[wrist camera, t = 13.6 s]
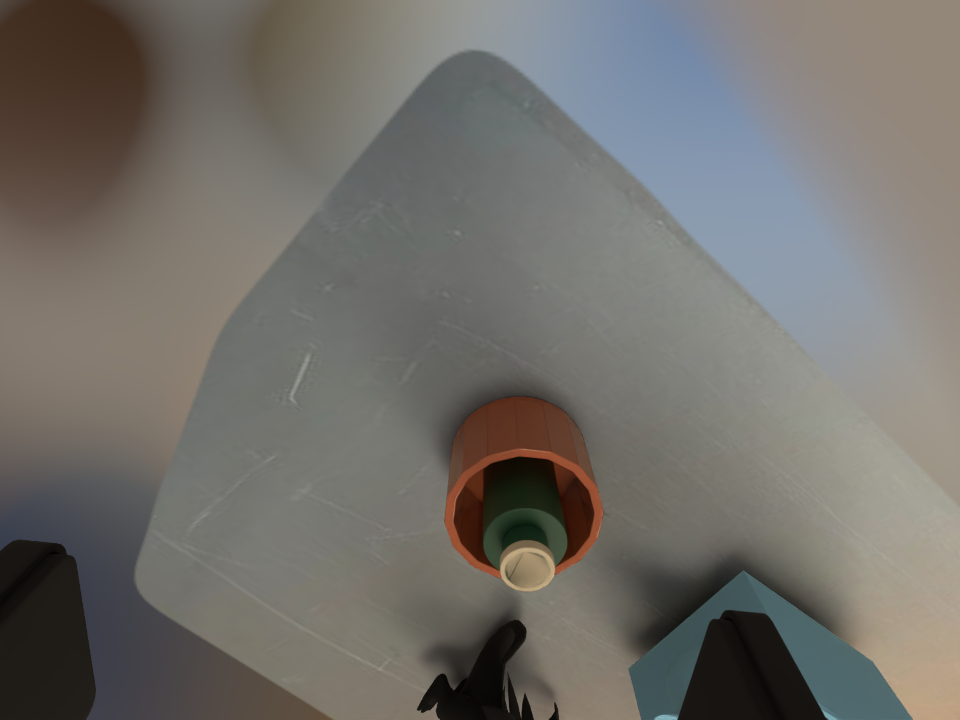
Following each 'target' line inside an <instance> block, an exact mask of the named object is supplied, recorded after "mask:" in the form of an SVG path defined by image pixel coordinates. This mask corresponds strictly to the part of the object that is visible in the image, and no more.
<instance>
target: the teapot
mask: <svg viewBox="0 0 960 720" xmlns="http://www.w3.org/2000/svg"><path fill="white" fill-rule="evenodd" d="M725 610H736V611H746V612H756V613H765V614H766V615H768V616H769V617H770V619H771V620H772V621H773V623H774V625H775V627H776V628H777V630H778V632H779V634H780V636H781V637H782V639H783V641H784V643H785V645H786V646H787V648H788V650H789V652H790V654H791V655H792V657H793V659H794V661H795V663H796V664H797V666H798V668H799V670H800V672H801V674H802V675H803V677H804V679H805V681H806V683H807V684H808V686H809V688H810V690H811V692H812V693H813V695H814V697H815V699H816V701H817V702H818V704H819V706H820V708H821V710H822V712H823V713H824V715H825V717H826V718H827V719H829V720H913V719H912V718H911V716H910V715H909V713H908V712H907V710H906V709H905V708H904V706H903V705H902V703H901V702H900V700H899V699H898V698H897V696H896V695H895V693H894V692H893V690H892V689H891V687H890V686H889V685H888V683H887V682H886V680H885V679H884V677H883V676H882V674H881V673H880V672H879V670H878V669H877V667H876V666H875V664H874V663H873V662H872V661H871V660H870V659H868V658H867V657H865V656H864V655H863V654H861V653H860V652H858V651H857V650H855V649H854V648H853V647H851V646H850V645H848V644H847V643H846V642H844V641H843V640H841V639H840V638H839V637H837V636H836V635H834V634H833V633H831V632H830V631H829V630H827V629H826V628H824V627H823V626H822V625H820V624H819V623H817V622H816V621H815V620H813V619H812V618H810V617H809V616H807V615H806V614H805V613H803V612H802V611H800V610H799V609H798V608H796V607H795V606H793V605H792V604H790V603H789V602H788V601H786V600H785V599H783V598H782V597H780V596H779V595H778V594H776V593H775V592H773V591H772V590H770V589H769V588H768V587H766V586H765V585H763V584H762V583H760V582H759V581H758V580H756V579H755V578H753V577H752V576H750V575H749V574H748V573H746V572H745V571H742V572H741V573H739V574H738V575H737V576H736V577H735V578H734V579H732V580H731V581H730V582H729V583H728V584H727V585H725V586H724V587H723V588H722V589H721V590H720V591H718V592H717V593H716V594H715V595H714V596H713V597H711V598H710V599H709V600H708V601H707V602H706V603H705V604H703V605H702V606H701V607H700V608H699V609H698V610H696V611H695V612H694V613H693V614H692V615H691V616H689V617H688V618H687V619H686V620H685V621H684V622H682V623H681V624H680V625H679V626H678V627H677V628H675V629H674V630H673V631H672V632H671V633H670V634H669V635H667V636H666V637H665V638H664V639H663V640H662V641H660V642H659V643H658V644H657V645H656V646H654V647H653V648H652V649H651V650H650V651H649V652H647V653H646V654H645V655H644V656H643V657H642V658H641V659H639V660H638V661H637V662H636V663H635V664H634V665H632V666H631V667H630V668H629V672H630V676H631V680H632V684H633V688H634V692H635V696H636V700H637V704H638V708H639V712H640V716H641V720H677V719H678V716H679V713H680V710H681V707H682V704H683V701H684V698H685V695H686V692H687V689H688V686H689V683H690V680H691V677H692V674H693V670H694V667H695V664H696V661H697V658H698V655H699V652H700V649H701V646H702V643H703V640H704V637H705V634H706V631H707V628H708V625H709V623H710V621H711V620H712V619H720V617H721V615H722V613H723V612H724V611H725Z"/></svg>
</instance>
